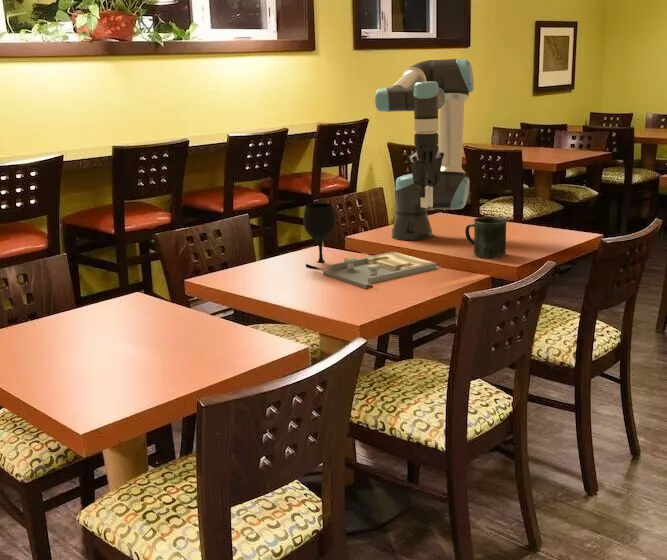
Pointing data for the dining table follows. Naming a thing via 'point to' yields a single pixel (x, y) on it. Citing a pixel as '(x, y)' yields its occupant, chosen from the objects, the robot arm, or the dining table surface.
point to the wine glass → (319, 224)
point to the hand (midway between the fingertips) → (426, 206)
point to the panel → (397, 261)
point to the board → (369, 271)
